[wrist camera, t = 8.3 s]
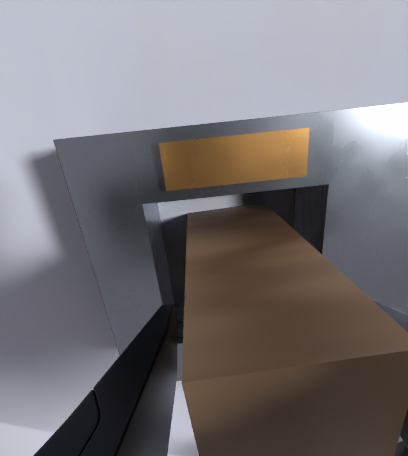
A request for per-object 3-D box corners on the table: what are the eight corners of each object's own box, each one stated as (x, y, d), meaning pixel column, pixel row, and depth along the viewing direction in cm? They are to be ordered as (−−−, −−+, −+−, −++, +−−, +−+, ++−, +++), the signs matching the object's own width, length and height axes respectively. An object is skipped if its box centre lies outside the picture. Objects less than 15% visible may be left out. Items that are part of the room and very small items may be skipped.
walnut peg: (264, 202, 12) (425, 347, 4) (266, 269, 14) (387, 479, 5) (187, 213, 12) (181, 383, 4) (198, 278, 14) (211, 504, 5)
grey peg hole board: (527, 92, 11) (659, 75, 8) (452, 305, 15) (518, 348, 12) (89, 138, 11) (47, 139, 8) (141, 339, 15) (127, 391, 12)
